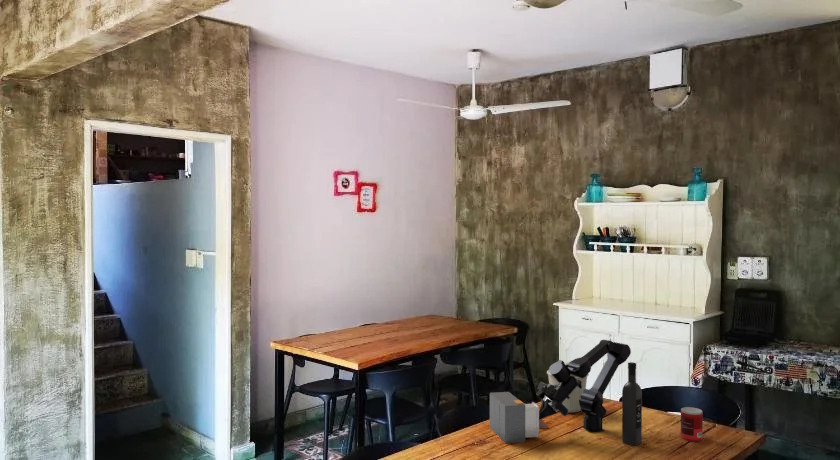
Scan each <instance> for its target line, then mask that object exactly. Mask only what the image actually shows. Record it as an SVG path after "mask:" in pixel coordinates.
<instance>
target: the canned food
mask: <svg viewBox="0 0 840 460" xmlns="http://www.w3.org/2000/svg"><path fill="white" fill-rule="evenodd" d="M703 414H704V413H703V410H702V409H700V408H697V407H691V406H686V407H682V408H680V437H681V439H682V440H683V441H687V442H691V443H693V442H694V443H696V442H697V443H698V442H702V440H703V423H704V422H703V421H704V420H703V418H704V417H703Z"/></svg>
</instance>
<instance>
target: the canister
mask: <svg viewBox="0 0 840 460" xmlns="http://www.w3.org/2000/svg"><path fill="white" fill-rule="evenodd" d="M569 362H570V361H568V362H567V361H566V362H565V361H564V363H565V365H567V364H569ZM546 374H547V376H548V382H549V383H548V384H551V385H558V384H559V382H558V381H557V380H556V379H555V378H554V377H553V376H552V375H551V373H550V372H549V369H548V370H547V371H546ZM571 376H572V375H571ZM588 376H589V373H588V375H587V376H586V377H585V378H580V377H576V376H574V377H575V378H576V379H577V380H580V381H581V382H582V383H581V385H582V388H581V389H580V388H579V387H576V388H575V389H574V390H573V391H572V393H571V394H570V395H569V397H570V398H569V399H567V398H566V399H565V400H564V401H563V403H562V404H563V405H564V406H565V407H566V408H567V409H568V414H570V413H571V414H572V413H574V414H575V413H579V412H580V411H581V408H580V404H579V400H580V398H581V397H580V396H581V395H582V393H583V391H584V389H587V380H588ZM557 412H560V411H559V410H557ZM581 412H582V411H581Z"/></svg>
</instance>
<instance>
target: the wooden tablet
mask: <svg viewBox="0 0 840 460" xmlns="http://www.w3.org/2000/svg"><path fill="white" fill-rule="evenodd" d="M548 429H549V426H548V423H546V422H545V420H543V418H542V419H540V420H539V430H548Z"/></svg>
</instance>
